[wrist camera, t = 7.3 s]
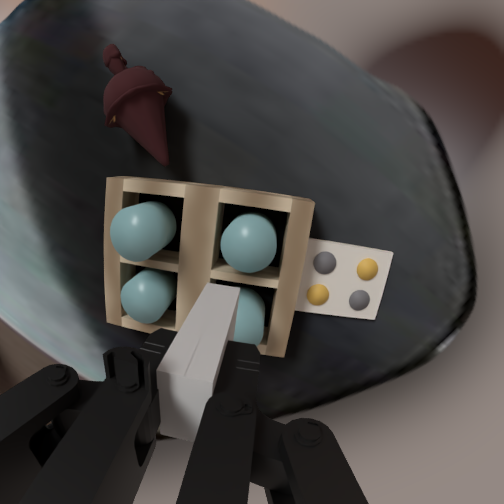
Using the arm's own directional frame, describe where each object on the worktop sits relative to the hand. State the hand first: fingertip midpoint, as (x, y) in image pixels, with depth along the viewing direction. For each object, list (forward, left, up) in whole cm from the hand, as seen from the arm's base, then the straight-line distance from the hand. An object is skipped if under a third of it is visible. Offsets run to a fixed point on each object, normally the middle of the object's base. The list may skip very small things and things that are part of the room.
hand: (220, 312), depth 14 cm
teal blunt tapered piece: (0, 0, -18) cm, 18 cm away
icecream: (-5, +17, -19) cm, 26 cm away
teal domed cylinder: (-3, -6, -16) cm, 17 cm away
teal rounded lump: (-12, -1, -18) cm, 21 cm away
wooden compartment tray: (-6, -1, -18) cm, 19 cm away
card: (+7, -8, -18) cm, 21 cm away
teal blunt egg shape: (-8, +5, -16) cm, 18 cm away
